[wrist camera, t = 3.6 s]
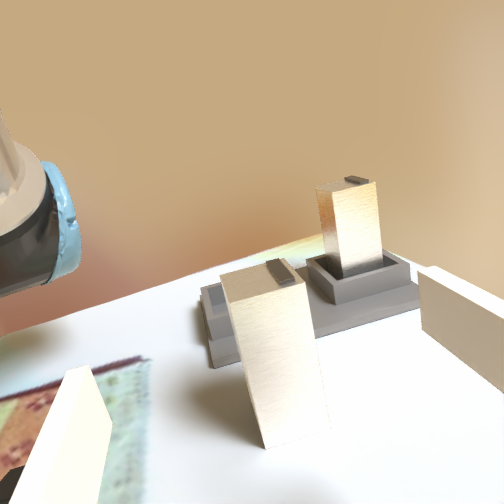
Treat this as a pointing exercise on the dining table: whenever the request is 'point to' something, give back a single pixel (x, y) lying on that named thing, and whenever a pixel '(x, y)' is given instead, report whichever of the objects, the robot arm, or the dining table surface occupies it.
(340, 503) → the dining table surface
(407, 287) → the pallet
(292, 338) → the billet
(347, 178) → the billet
